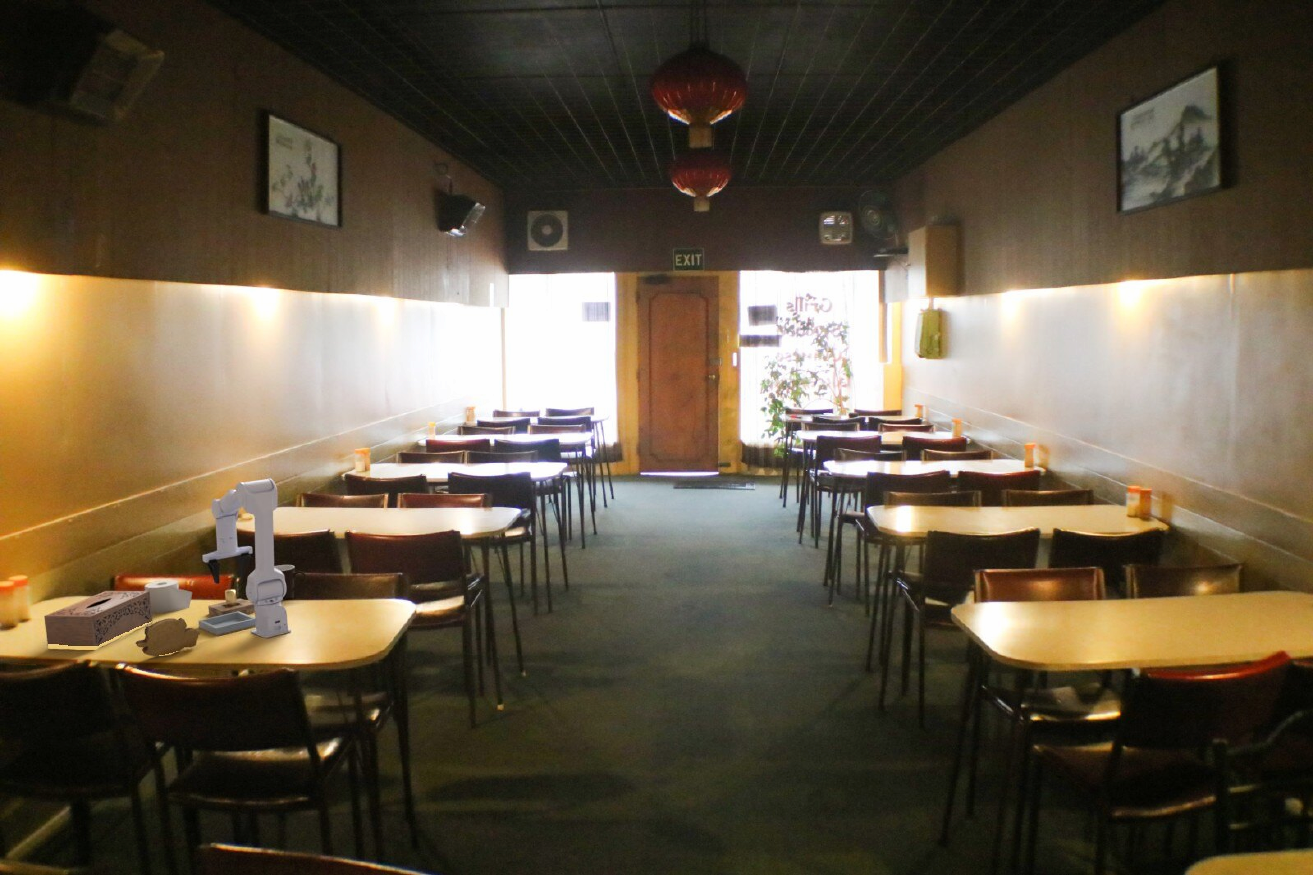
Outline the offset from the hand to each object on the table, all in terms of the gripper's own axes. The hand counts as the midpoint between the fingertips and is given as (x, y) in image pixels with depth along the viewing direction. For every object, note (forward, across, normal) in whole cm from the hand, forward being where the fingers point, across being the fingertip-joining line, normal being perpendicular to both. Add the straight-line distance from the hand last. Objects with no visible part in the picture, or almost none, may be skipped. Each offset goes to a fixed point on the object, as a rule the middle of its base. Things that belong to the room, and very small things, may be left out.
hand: (229, 580), depth 322 cm
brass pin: (+10, 0, +1) cm, 10 cm away
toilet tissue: (+13, +11, -21) cm, 27 cm away
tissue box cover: (+12, +34, -9) cm, 37 cm away
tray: (+10, +7, +14) cm, 18 cm away
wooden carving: (+9, +28, +24) cm, 38 cm away
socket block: (+11, 0, +1) cm, 11 cm away
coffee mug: (+11, -19, -2) cm, 22 cm away
